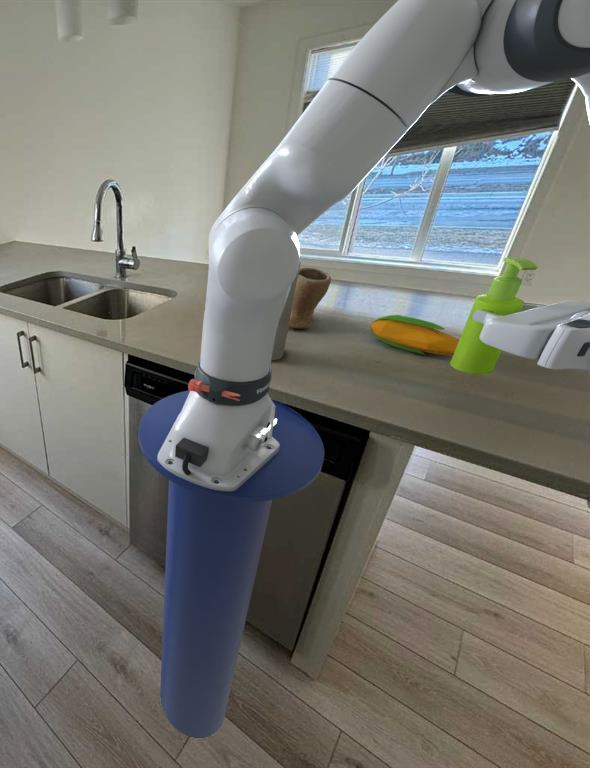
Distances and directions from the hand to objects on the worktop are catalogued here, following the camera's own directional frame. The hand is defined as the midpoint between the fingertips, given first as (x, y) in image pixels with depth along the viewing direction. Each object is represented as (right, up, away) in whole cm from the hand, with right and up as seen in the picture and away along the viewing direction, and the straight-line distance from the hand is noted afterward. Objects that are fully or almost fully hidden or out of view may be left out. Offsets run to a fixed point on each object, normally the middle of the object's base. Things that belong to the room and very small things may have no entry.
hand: (491, 310), depth 70 cm
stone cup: (-10, +5, +44) cm, 46 cm away
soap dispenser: (+1, -10, +5) cm, 11 cm away
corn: (+7, -5, +25) cm, 26 cm away
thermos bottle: (-26, -5, +29) cm, 40 cm away
